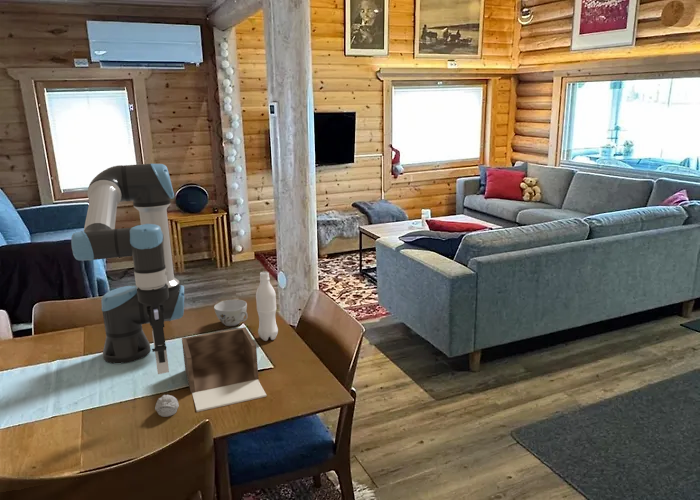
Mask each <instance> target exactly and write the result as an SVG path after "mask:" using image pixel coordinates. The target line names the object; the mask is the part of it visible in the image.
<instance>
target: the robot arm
mask: <svg viewBox="0 0 700 500" xmlns="http://www.w3.org/2000/svg"><path fill="white" fill-rule="evenodd" d="M86 195H87V198H88V200H89V202H88V208H87V213H86V217H85V222H84V229H83V230H81V231H77V232H74V233H72V235H71V239H70V241H71V244H70V245H71V250H72V255H73V257H74V259H75V260H76V261H96V260H104V259H113V258H115V259H116V258H123V257H124V258H126V257H132V262H133V274H134V280H135V281H134V282H135V285H126V286H121V287H116V288H115V289H111V290H110V291H107V292H106V293H105V294H103V295H102V297H101V301H100V302H101V311H102V317H103V323H104V331H105V339H104V346H103V350H102V355H103V357H102V358H103V360H104V361H105V362H107V363H110V364H114V363H121V364H127V363H133V362H136V361H139V360H141V359H143V358H145V357H147V356H148V355H149V354H150V353H151V352H152V353H153V352H154V354H155V364H156V370H157V375H162V374H166V373H170V368H169V360H168V353H167V346H166V338H165V331H164V330H165V329H164V328H165V322H171V321H175V320H180V319H181V318H182V317H183V316H184V313H185V312H184V311H185V286H184V285H182V284H180V280H179V279H177V278H176V277H175V275H174V274H175V273H174V262H173V256H172V255H173V254H172V246H171V245H172V244H171V235H170V229H169V218H168V211H167V210H168V208H169V206H171V204H172V203H171V200H173V199H174V198H175V193H174V189H173V184H172V179H171V176H170V172H169V170H168V167H167V165H165V164H163V163H143V164H142V163H140V164H129V165H127V164H125V165H113V166H111V167H108V168H106V169H105V170H104V169H103V171H101V172H99V173H98V174H97V175H96V176H94V178H93V179H92V180H91V182H90V183H89V185H88V188H87V194H86ZM122 202H132V203H133V208H134V209H135V210H137V211H138V213H139V219H140V220H139V221H140V224H138V225H135V226H133V227H126V228H125V227H124V228H116V221H117V220H116V219H117V210H118V205H119V204H120V203H122ZM145 324H146V325H148V324H149V325H150V327H151V329H152V330H151V333H152V341H153V348H151V344H150V342H149V339H148V337H147V335H146V334H145V332H144V329H143V325H145Z"/></svg>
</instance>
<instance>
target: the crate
mask: <svg viewBox="0 0 700 500" xmlns="http://www.w3.org/2000/svg"><path fill="white" fill-rule="evenodd" d="M181 342H182V344H181V345H182V352H183V361H184V362H183V363H184V371H185V375H186V379H187V382H188V387H189V391H190V394H192V393H195V392H199V391H204V390H209V389H214V388H219V387H223V386H228V385H233V384H238V383H242V382H247V381H252V380H257V379H258V380H259V366H258V365H259V364H258V352H257V344H256V343H255V341H254V340H253V338H252V336H251V334H250V332H249V331H248V329H247V328H246V327H239V328H234V329H227V330H220V331H216V332H210V333H204V334H199V335H193V336H187V337H186V336H185V337H181Z"/></svg>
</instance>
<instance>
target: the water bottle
mask: <svg viewBox="0 0 700 500" xmlns="http://www.w3.org/2000/svg"><path fill="white" fill-rule="evenodd" d="M259 281H260V282H259V285H258V286H257V289H256V293H255V300H256V311H257V315H258V321H259V322H258V323H259V325H258V329H257V333H258V337H259V338H260V339H261V340H262V341H265V342H267V341H268V340H269V339H270V340H271V341H274V340H276V338H277V335H278V333H279V328H278V325H277V322H276V321H277V320H276V314H277V313H276V312H277V299H276V296H277V294H276V291H275V289H274V287H273V285H272V284H271V282H270V272H268V271H260V273H259Z"/></svg>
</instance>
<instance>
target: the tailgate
mask: <svg viewBox="0 0 700 500" xmlns="http://www.w3.org/2000/svg"><path fill="white" fill-rule="evenodd" d="M191 394H192V399H193V401H194V406H195V411H196V413H199V412H203V411H208V410H213V409H217V408H220V407H221V408H222V407H224V406H225V407H226V406H229V405H230V406H231V405H233V404H240V403H243V402H247V401H251V400H256V399H257V400H258V399H261V398H265V397H267V396H268V395H267V393H266V391H265V390H264V387H263V386H262V384H261V383H260V380H259V379H255V380H250V381H246V382H241V383H236V384H231V385H226V386H222V387H217V388H212V389H207V390H203V391H198V392H193V393H191Z"/></svg>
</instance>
